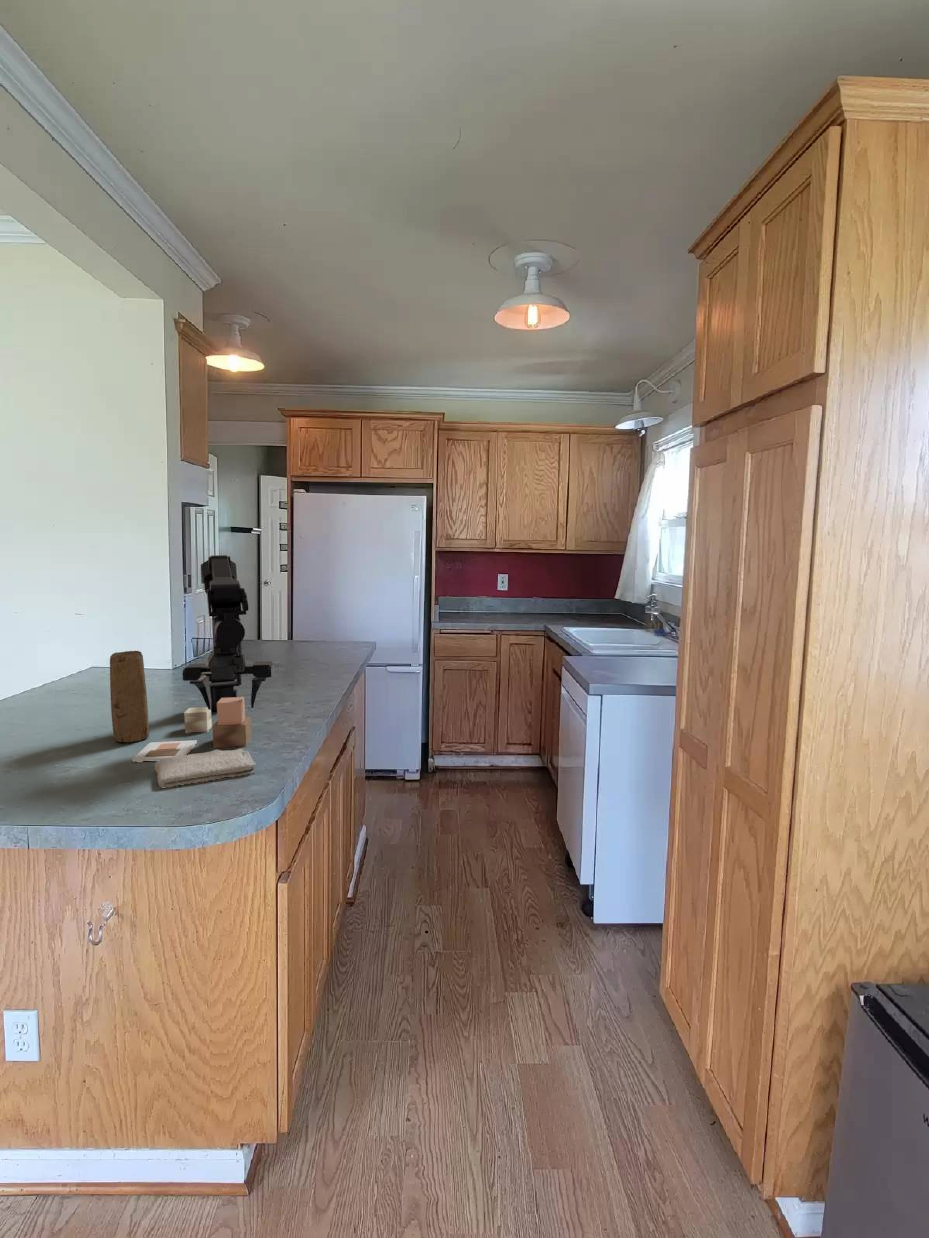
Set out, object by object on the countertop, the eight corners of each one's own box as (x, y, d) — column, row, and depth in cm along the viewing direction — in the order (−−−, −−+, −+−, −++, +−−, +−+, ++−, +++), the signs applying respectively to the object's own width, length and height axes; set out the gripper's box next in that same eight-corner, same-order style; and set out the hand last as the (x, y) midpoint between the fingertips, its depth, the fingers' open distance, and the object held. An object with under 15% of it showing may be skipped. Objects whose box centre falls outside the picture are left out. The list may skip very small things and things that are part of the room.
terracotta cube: (217, 725, 147) (216, 703, 147) (222, 719, 152) (221, 697, 151) (241, 724, 148) (240, 702, 147) (245, 718, 153) (244, 696, 152)
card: (132, 762, 137) (131, 759, 137) (149, 745, 149) (149, 741, 149) (183, 759, 139) (183, 756, 139) (196, 742, 150) (196, 739, 150)
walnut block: (213, 748, 147) (212, 726, 146) (220, 739, 154) (219, 718, 153) (246, 746, 148) (245, 724, 147) (251, 737, 155) (250, 716, 154)
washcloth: (259, 775, 130) (258, 760, 130) (158, 792, 122) (157, 776, 122) (247, 758, 141) (246, 744, 141) (154, 773, 132) (153, 758, 132)
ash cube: (185, 733, 158) (184, 713, 157) (190, 727, 163) (189, 707, 162) (207, 732, 159) (206, 711, 158) (211, 726, 164) (210, 706, 163)
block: (150, 741, 152) (144, 654, 149) (113, 746, 148) (106, 657, 146) (148, 729, 161) (143, 647, 159) (113, 733, 158) (107, 650, 156)
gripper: (173, 646, 139) (178, 720, 140) (266, 644, 141) (269, 715, 143) (187, 638, 149) (191, 706, 151) (273, 636, 152) (275, 703, 154)
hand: (231, 708), depth 150 cm, fingers open, 9 cm apart
